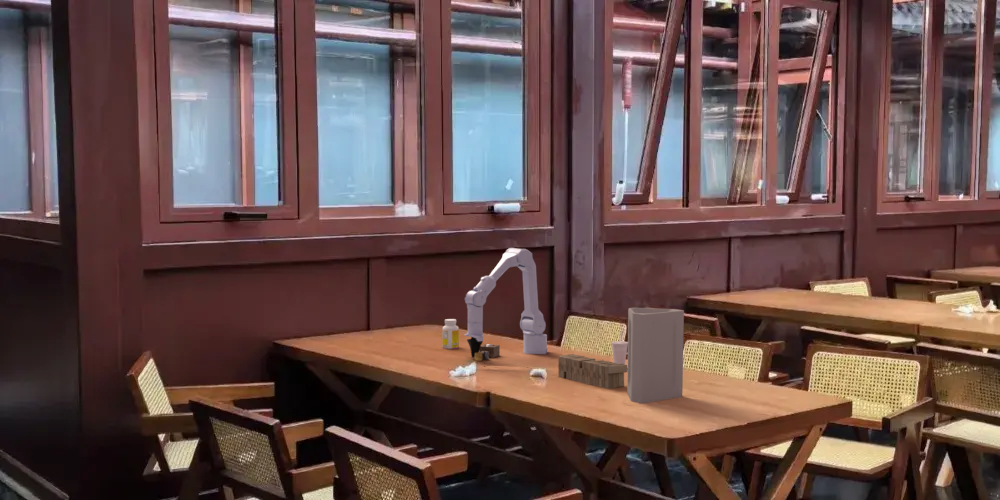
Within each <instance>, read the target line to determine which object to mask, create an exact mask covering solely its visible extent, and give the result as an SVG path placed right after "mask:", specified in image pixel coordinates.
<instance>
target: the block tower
mask: <svg viewBox="0 0 1000 500" xmlns="http://www.w3.org/2000/svg"><path fill="white" fill-rule="evenodd" d="M557 367H558V378H562V379H564V378H565V379H567V380H571V381H575V382H578V383H582V384H587V385H591V386H595V387H599V388H604V389H613V388H614V389H615V388H620V387H621V388H622V387H624V386H625V373H628V364H626V363H625V364H618V363H614V362H612V361H609V360H603V359H599V360H598V359H597V360H596V358H592V357H587V356H584V355H579V354H574V353H570V354H569V353H568V354H562V355H559V356H558V366H557Z"/></svg>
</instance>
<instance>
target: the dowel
mask: <svg viewBox="0 0 1000 500" xmlns="http://www.w3.org/2000/svg"><path fill="white" fill-rule="evenodd" d="M489 358H490V357H489V352H488V351H484V360H483V361H489Z"/></svg>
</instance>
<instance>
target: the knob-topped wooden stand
mask: <svg viewBox="0 0 1000 500" xmlns="http://www.w3.org/2000/svg"><path fill="white" fill-rule="evenodd" d="M487 344H488V343H486V344H481V346H480V349H479V352H476V353H475V358H474V361H476V362H481V361H485V360H484V351H488V352H489V358H490V359H491V358H492V359H494V358H497V357H499V356H500V352H501V351H500V344H492V345H493V346H492V347H489V346H486V345H487Z"/></svg>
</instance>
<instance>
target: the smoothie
mask: <svg viewBox="0 0 1000 500" xmlns="http://www.w3.org/2000/svg"><path fill="white" fill-rule="evenodd" d="M610 345H611V349H612V358H613V363H618V364H625V365H626V359H627V354H628V341H623V330H620V340H619V341H617V340H614V341H612V342H611V343H610Z"/></svg>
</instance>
